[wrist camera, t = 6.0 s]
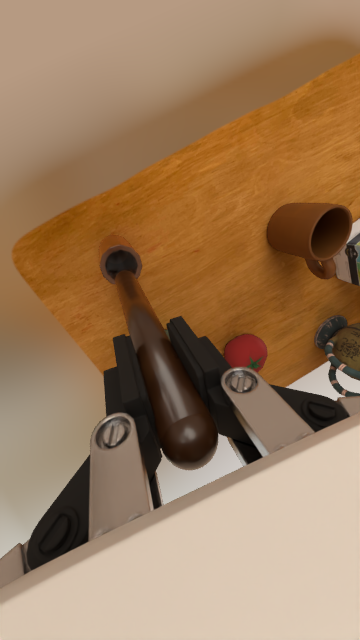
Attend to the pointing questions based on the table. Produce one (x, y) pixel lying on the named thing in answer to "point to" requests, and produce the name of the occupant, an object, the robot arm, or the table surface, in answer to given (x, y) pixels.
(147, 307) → the stick
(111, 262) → the crock
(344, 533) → the robot arm
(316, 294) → the table surface
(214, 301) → the table surface
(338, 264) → the tea box
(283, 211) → the mug
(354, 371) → the teapot
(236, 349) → the tomato
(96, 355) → the table surface
